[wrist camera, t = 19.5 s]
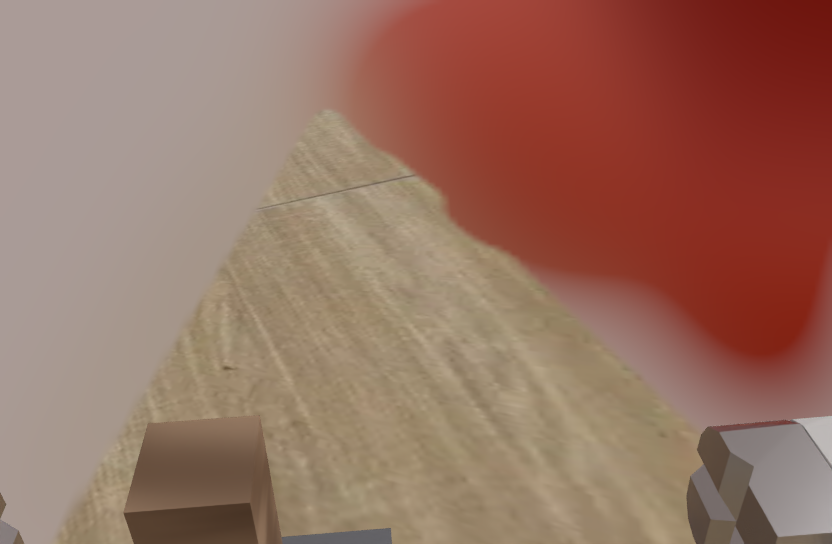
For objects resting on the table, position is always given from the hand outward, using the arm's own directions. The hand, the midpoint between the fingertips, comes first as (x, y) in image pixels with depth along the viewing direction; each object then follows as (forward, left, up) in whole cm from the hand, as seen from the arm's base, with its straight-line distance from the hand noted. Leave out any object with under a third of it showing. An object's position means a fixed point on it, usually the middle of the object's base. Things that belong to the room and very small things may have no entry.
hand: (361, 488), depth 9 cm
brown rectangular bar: (+13, +6, -29) cm, 32 cm away
